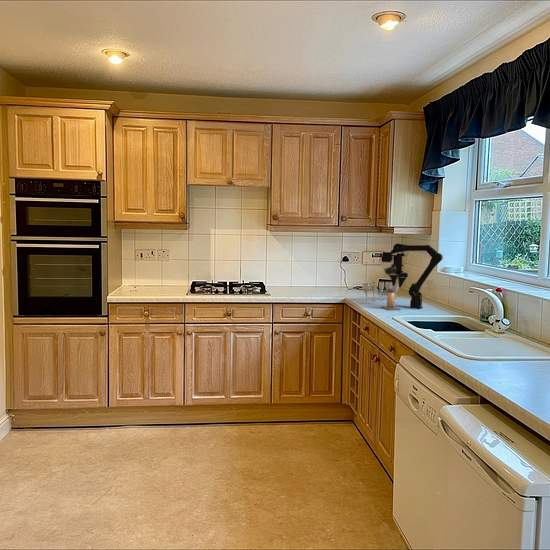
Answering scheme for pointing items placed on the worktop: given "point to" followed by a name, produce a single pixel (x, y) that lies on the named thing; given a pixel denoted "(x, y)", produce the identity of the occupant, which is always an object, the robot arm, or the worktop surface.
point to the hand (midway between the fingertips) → (396, 286)
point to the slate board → (390, 308)
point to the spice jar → (390, 297)
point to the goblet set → (380, 287)
